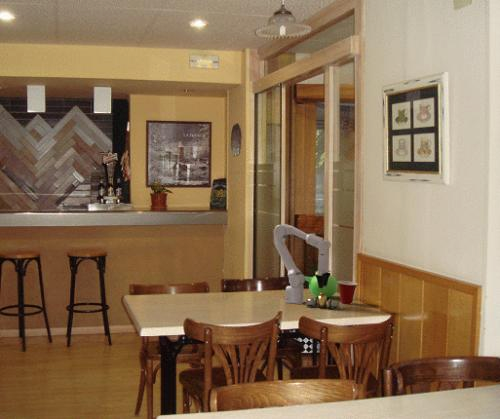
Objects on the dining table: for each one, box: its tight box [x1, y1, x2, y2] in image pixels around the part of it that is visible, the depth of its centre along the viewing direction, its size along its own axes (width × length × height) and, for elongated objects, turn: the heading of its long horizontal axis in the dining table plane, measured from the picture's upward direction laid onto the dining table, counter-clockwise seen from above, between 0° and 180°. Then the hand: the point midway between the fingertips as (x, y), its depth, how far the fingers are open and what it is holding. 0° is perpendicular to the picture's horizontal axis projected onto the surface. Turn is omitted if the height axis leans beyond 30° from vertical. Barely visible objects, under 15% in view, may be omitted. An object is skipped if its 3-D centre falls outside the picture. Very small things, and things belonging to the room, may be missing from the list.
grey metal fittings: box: [305, 297, 340, 311], centre depth 384 cm, size 17×6×5 cm, turn 70°
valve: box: [317, 293, 328, 308], centre depth 384 cm, size 4×4×8 cm
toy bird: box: [305, 270, 339, 298], centre depth 415 cm, size 18×17×15 cm
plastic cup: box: [337, 280, 358, 305], centre depth 399 cm, size 11×11×12 cm
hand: (322, 287), depth 392 cm, fingers open, 7 cm apart
